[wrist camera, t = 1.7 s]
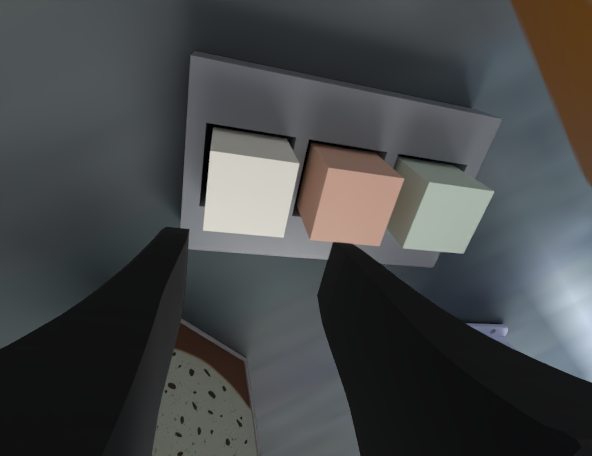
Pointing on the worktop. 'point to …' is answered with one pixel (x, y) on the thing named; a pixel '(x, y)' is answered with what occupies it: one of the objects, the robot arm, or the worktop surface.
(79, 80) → the worktop surface
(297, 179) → the key console
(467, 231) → the key sage
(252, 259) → the worktop surface
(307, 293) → the worktop surface
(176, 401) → the half round cake
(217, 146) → the key cream
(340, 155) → the key terracotta
